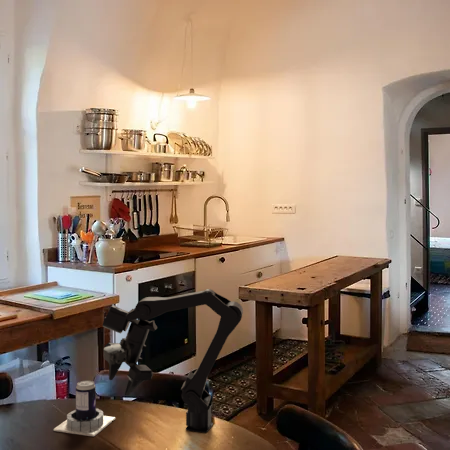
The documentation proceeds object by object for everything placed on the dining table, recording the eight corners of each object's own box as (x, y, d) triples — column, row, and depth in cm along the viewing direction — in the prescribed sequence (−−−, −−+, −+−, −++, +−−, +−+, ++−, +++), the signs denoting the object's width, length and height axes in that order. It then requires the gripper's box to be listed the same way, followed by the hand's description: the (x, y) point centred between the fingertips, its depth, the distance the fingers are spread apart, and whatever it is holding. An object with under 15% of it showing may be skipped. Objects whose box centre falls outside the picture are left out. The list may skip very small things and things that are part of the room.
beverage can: (97, 425, 171) (97, 385, 171) (77, 427, 169) (77, 387, 168) (93, 418, 177) (93, 379, 176) (74, 420, 174) (74, 381, 174)
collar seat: (115, 419, 177) (115, 409, 177) (94, 436, 165) (93, 425, 165) (77, 414, 181) (77, 404, 181) (53, 430, 169) (53, 420, 168)
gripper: (97, 323, 172) (80, 372, 173) (130, 352, 159) (111, 404, 160) (127, 326, 180) (111, 372, 181) (161, 353, 167) (143, 403, 168)
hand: (118, 387), depth 173 cm, fingers open, 9 cm apart
